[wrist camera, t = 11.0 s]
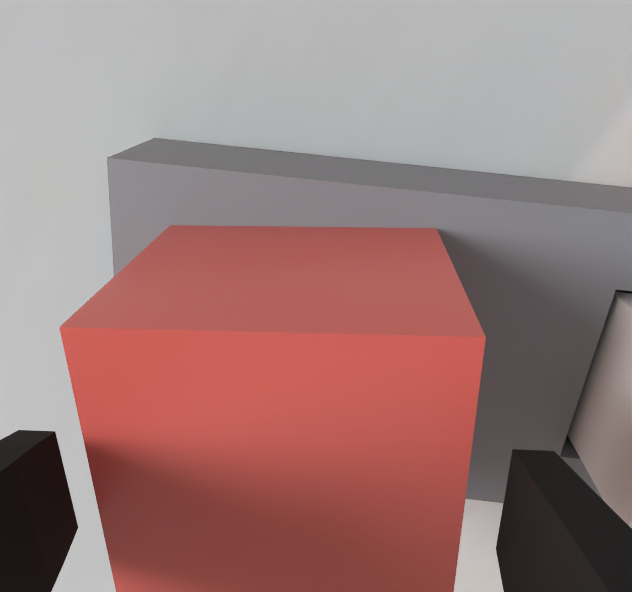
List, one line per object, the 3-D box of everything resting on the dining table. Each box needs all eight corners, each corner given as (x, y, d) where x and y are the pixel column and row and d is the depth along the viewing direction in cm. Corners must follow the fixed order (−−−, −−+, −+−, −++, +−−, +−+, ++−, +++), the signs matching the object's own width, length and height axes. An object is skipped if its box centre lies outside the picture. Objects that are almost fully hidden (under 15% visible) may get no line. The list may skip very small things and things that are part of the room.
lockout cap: (436, 228, 12) (486, 336, 7) (418, 447, 14) (448, 634, 10) (169, 225, 12) (59, 327, 8) (195, 439, 15) (121, 615, 10)
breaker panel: (857, 211, 14) (978, 249, 11) (730, 466, 17) (799, 544, 15) (154, 138, 15) (107, 157, 12) (161, 400, 18) (125, 463, 15)
